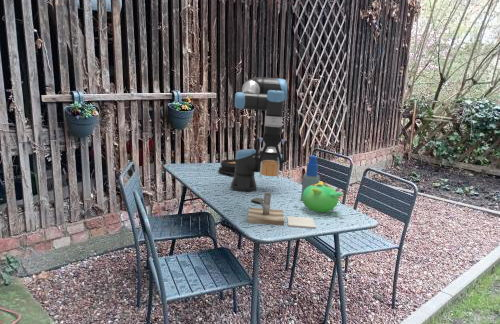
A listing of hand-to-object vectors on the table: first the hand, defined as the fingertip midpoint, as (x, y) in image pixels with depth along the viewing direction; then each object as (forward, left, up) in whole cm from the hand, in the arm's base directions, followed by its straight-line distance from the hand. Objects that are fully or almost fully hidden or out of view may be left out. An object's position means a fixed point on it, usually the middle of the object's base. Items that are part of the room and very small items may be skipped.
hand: (269, 176), depth 173 cm
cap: (0, 0, +1) cm, 1 cm away
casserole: (-89, -23, -20) cm, 94 cm away
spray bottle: (-35, +24, -20) cm, 47 cm away
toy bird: (-17, +27, -20) cm, 38 cm away
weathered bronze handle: (-18, -2, -20) cm, 28 cm away
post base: (0, 0, -20) cm, 20 cm away
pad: (+3, +16, -20) cm, 26 cm away
